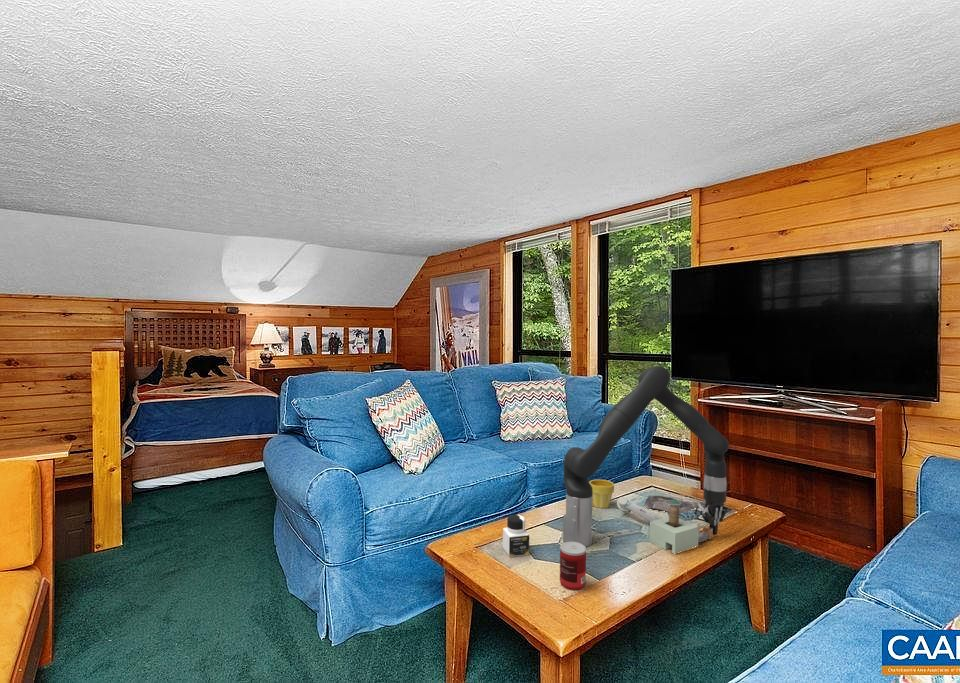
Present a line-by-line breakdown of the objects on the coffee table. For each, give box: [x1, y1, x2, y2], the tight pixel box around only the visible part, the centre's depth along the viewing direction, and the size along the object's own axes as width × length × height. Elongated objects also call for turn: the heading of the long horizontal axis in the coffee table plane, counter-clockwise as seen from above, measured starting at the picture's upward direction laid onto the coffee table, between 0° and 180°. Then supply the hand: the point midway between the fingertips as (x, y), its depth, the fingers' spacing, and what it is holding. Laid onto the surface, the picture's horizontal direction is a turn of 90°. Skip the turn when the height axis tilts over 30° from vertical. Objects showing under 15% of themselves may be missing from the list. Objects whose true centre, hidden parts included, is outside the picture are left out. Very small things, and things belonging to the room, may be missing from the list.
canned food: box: [559, 542, 587, 591], centre depth 145 cm, size 8×8×11 cm
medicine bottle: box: [502, 514, 530, 558], centre depth 165 cm, size 7×7×12 cm
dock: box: [648, 516, 700, 554], centre depth 172 cm, size 12×11×7 cm
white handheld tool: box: [616, 496, 664, 523], centre depth 190 cm, size 5×7×25 cm
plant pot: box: [589, 479, 615, 509], centre depth 209 cm, size 10×10×10 cm
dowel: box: [668, 506, 680, 528], centre depth 172 cm, size 3×3×10 cm
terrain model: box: [643, 495, 699, 513], centre depth 208 cm, size 20×15×3 cm
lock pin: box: [698, 525, 714, 543], centre depth 174 cm, size 13×2×4 cm, turn 119°
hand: (713, 533), depth 178 cm, fingers closed
